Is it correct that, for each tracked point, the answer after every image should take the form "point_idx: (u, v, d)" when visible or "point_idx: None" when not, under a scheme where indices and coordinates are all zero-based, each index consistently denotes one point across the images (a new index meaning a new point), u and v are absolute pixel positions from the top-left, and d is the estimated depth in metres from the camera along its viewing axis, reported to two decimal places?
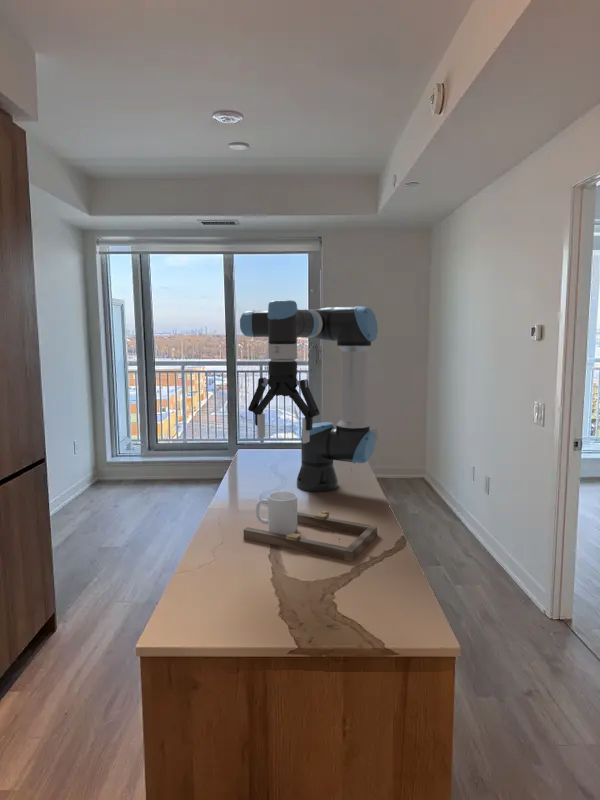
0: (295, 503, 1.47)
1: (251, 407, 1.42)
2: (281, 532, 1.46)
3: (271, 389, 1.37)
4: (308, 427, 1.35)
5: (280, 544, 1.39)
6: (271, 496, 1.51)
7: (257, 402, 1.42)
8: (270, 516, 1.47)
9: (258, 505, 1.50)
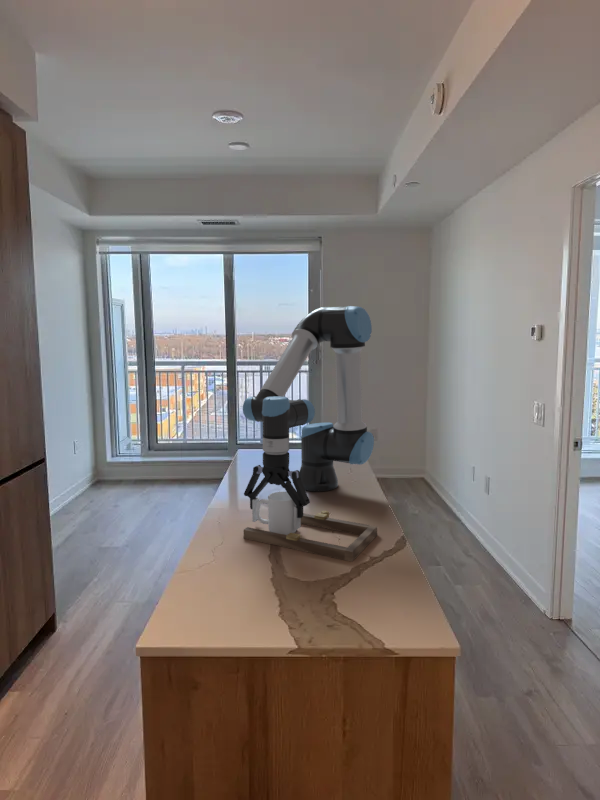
0: None
1: (246, 492, 1.52)
2: (281, 532, 1.46)
3: (265, 478, 1.48)
4: (299, 515, 1.45)
5: (280, 544, 1.39)
6: (271, 496, 1.51)
7: (252, 487, 1.52)
8: (270, 516, 1.47)
9: (258, 505, 1.50)
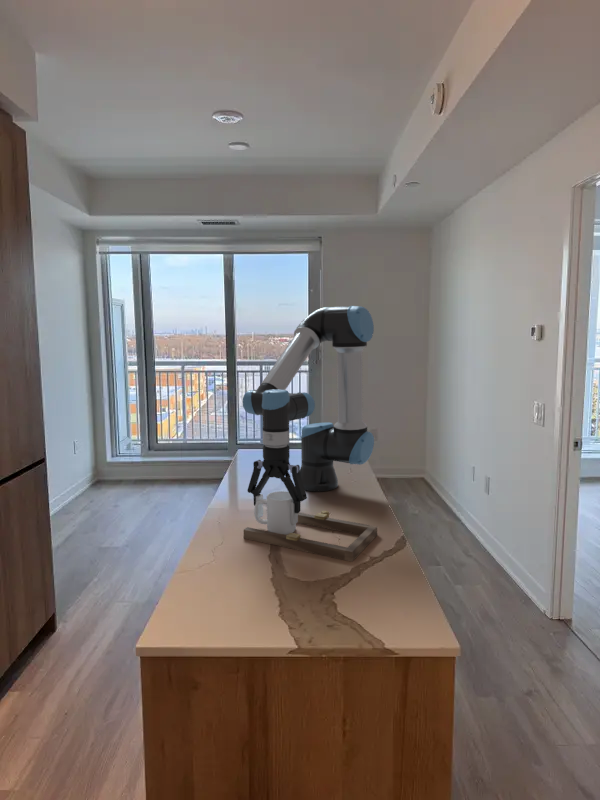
0: None
1: (250, 489, 1.51)
2: (281, 532, 1.46)
3: (266, 472, 1.48)
4: (296, 510, 1.46)
5: (280, 544, 1.39)
6: (269, 496, 1.51)
7: (255, 483, 1.52)
8: (269, 516, 1.47)
9: (256, 505, 1.49)
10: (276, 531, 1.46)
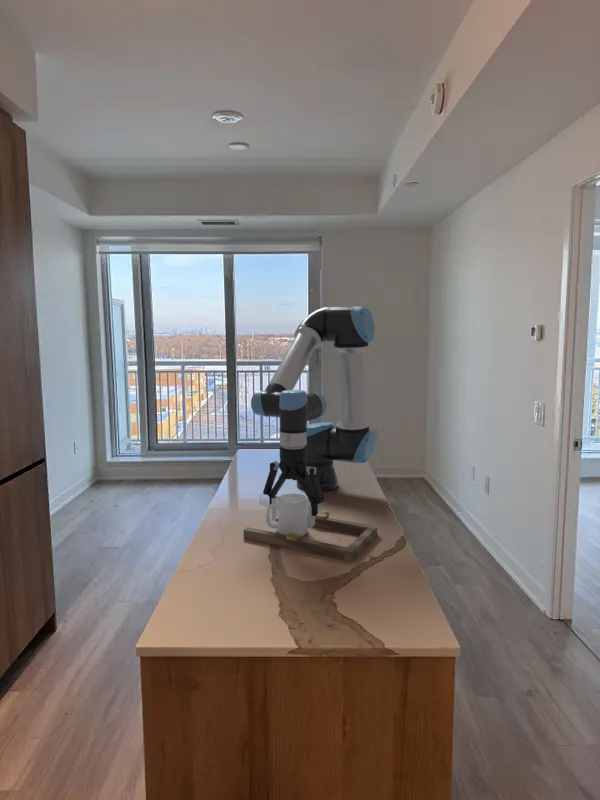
0: (307, 503, 1.47)
1: (266, 490, 1.49)
2: None
3: (282, 474, 1.45)
4: (314, 513, 1.43)
5: (280, 544, 1.39)
6: (279, 499, 1.48)
7: (271, 485, 1.49)
8: (284, 519, 1.44)
9: (269, 510, 1.45)
10: None
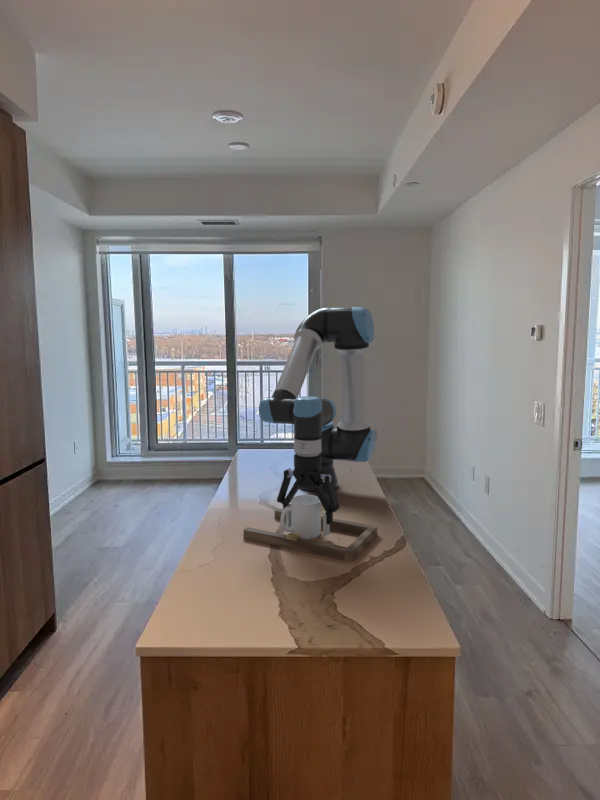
0: None
1: (279, 498, 1.47)
2: (314, 535, 1.43)
3: (297, 481, 1.43)
4: (329, 521, 1.41)
5: (280, 544, 1.39)
6: None
7: (284, 493, 1.48)
8: (300, 522, 1.43)
9: (284, 514, 1.43)
10: (309, 536, 1.43)
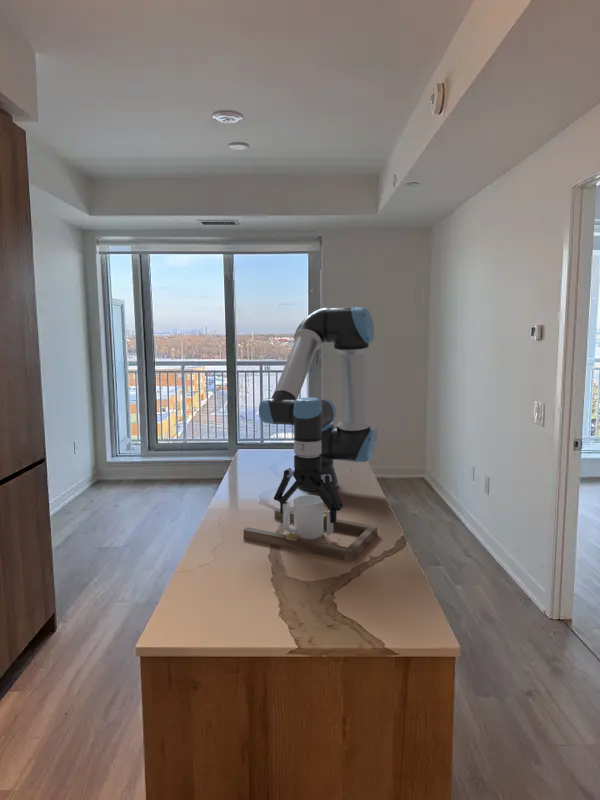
0: None
1: (277, 496, 1.47)
2: (317, 535, 1.43)
3: (296, 482, 1.43)
4: (332, 520, 1.41)
5: (280, 544, 1.39)
6: None
7: (282, 491, 1.48)
8: (304, 522, 1.42)
9: (287, 514, 1.42)
10: (313, 536, 1.43)
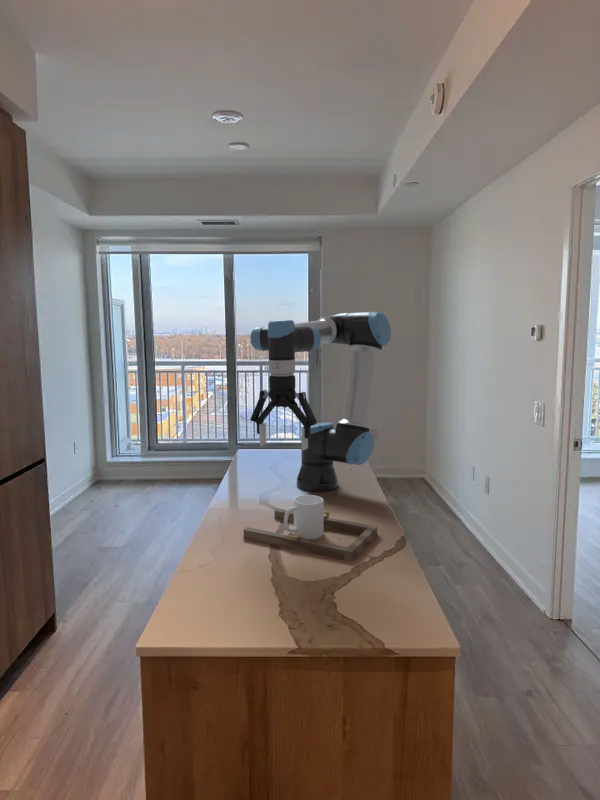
0: None
1: (253, 417, 1.54)
2: (317, 535, 1.43)
3: (272, 401, 1.50)
4: (307, 435, 1.48)
5: (280, 544, 1.39)
6: None
7: (258, 413, 1.54)
8: (304, 522, 1.42)
9: (287, 514, 1.42)
10: (313, 536, 1.43)
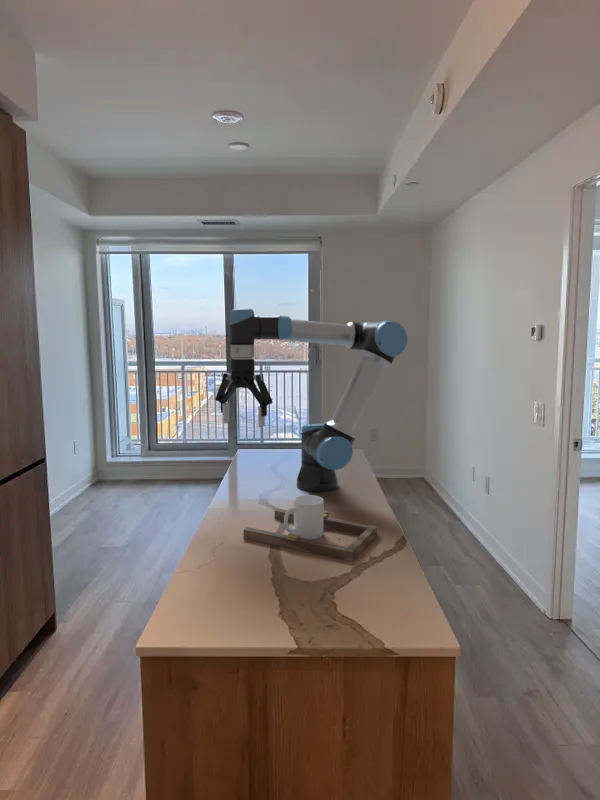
0: None
1: (217, 397, 1.70)
2: (317, 535, 1.43)
3: (233, 382, 1.66)
4: (263, 413, 1.63)
5: (280, 544, 1.39)
6: None
7: (222, 393, 1.71)
8: (304, 522, 1.42)
9: (287, 514, 1.42)
10: (313, 536, 1.43)
